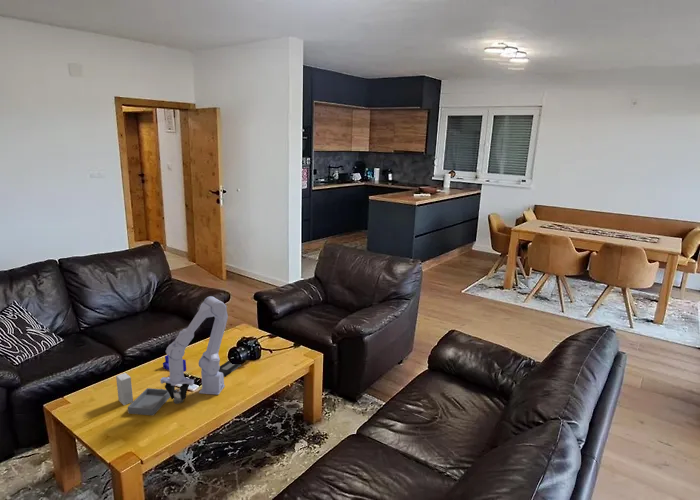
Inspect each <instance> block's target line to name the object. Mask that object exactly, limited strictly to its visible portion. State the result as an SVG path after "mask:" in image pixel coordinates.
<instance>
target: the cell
mask: <svg viewBox="0 0 700 500" xmlns="http://www.w3.org/2000/svg"><path fill="white" fill-rule="evenodd" d="M173 396H174V398H173V403H174V404H176V405H179V404H182V403H183V402H184V401H185V399H184V400H182V394H181V390H180V388H175V390H174V391H173Z"/></svg>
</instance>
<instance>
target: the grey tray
mask: <svg viewBox="0 0 700 500" xmlns="http://www.w3.org/2000/svg"><path fill="white" fill-rule="evenodd" d="M169 399H171V397H170V394H169V392H168V391H167V390H166V388H164V389H163V388H153V387H152V388H151V387H148V388H146V389H144V391H142V392H141V393H140V394H139V396H137V398H135V399H133V402H131V403H129V405H128V406H127V413H128V414H130V415H131V414H132V415H143V416H155V414H156V413H157V412H158V411H159V410H161V408H162V407H163V406H164V404H165V403H166V402H167V401H168V400H169Z"/></svg>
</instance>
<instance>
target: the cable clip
mask: <svg viewBox="0 0 700 500" xmlns="http://www.w3.org/2000/svg"><path fill="white" fill-rule="evenodd" d="M168 356H169V355H167V354H166V355H165V356H164V362H162V367H163V369H165V370H167V371H169V358H168ZM182 359H183V358H182ZM186 360H187V359H183V371H184V372H187V362H186Z"/></svg>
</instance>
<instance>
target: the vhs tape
mask: <svg viewBox="0 0 700 500" xmlns="http://www.w3.org/2000/svg"><path fill="white" fill-rule="evenodd" d="M238 367H239V368H240V367H242V365H241V364H232V363H231V362H230V361H229V360H227V361H226V362H224V363H223V364H222V365H221V364H220V369H219V372H222V373H223V375H224V377H225V378H226V377H228V376H229V375H231V374H232V373H233V372H235V371H236V370H237V369H239V368H238Z"/></svg>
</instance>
